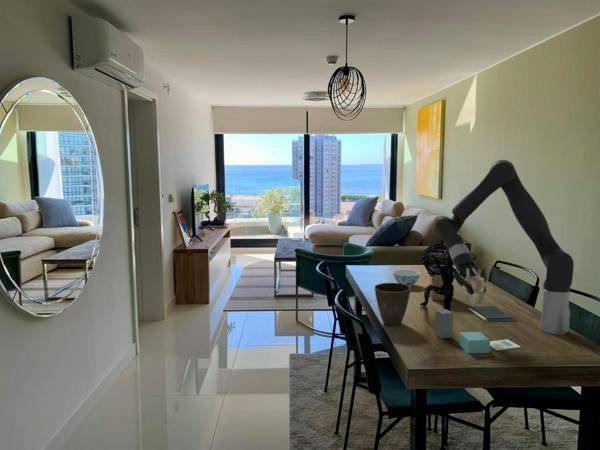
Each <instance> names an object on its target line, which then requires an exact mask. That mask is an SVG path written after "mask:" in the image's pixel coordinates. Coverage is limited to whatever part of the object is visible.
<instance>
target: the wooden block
mask: <svg viewBox="0 0 600 450" xmlns="http://www.w3.org/2000/svg"><path fill="white" fill-rule="evenodd" d="M430 279H431V280H430V286H431V285H434V286H438V287H441V285H442V284H443V282H442V279H441V276H440V275H435V276H431V277H430ZM430 298H431V300H433V301H438V302H439V301H442V302H443V300H444V296H443V295H438V294H436V293H435V292H434V291H431V290H430Z"/></svg>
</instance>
